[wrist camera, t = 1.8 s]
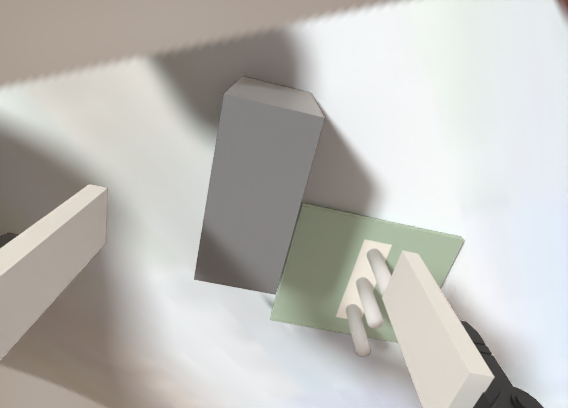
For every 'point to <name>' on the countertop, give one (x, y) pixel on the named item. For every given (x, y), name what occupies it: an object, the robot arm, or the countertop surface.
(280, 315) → the board
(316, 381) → the countertop surface
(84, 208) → the robot arm
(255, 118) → the block
